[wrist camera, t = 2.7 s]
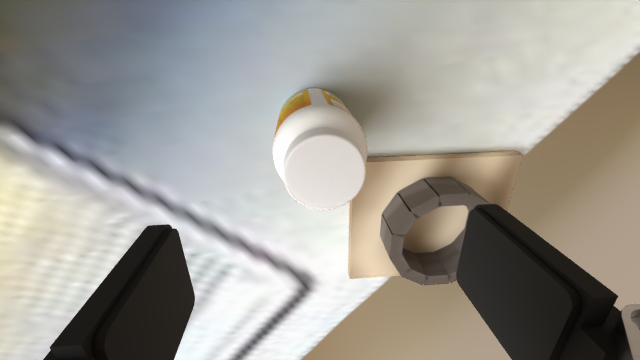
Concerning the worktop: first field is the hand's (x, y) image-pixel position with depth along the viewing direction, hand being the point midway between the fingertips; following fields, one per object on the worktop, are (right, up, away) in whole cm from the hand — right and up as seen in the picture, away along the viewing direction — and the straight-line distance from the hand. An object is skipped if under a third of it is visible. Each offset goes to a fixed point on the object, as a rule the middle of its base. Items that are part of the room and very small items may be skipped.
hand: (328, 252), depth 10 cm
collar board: (+9, -1, +18) cm, 20 cm away
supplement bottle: (-1, +7, +13) cm, 15 cm away
